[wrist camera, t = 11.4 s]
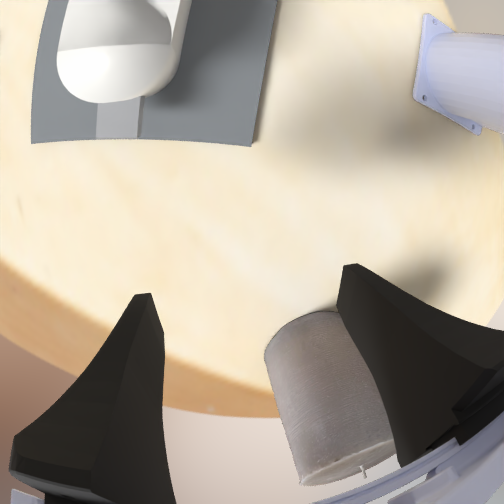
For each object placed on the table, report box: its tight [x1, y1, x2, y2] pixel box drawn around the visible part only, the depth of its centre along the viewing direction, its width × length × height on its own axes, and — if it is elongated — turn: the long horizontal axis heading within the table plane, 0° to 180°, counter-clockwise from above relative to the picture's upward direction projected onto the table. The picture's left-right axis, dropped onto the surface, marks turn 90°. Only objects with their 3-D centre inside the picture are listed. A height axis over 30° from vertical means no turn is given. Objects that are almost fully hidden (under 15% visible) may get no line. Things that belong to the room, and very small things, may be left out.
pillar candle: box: [264, 311, 396, 486], centre depth 21 cm, size 10×10×15 cm
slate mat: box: [31, 0, 277, 147], centre depth 11 cm, size 14×14×1 cm
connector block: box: [57, 0, 192, 139], centre depth 9 cm, size 4×11×6 cm, turn 171°
